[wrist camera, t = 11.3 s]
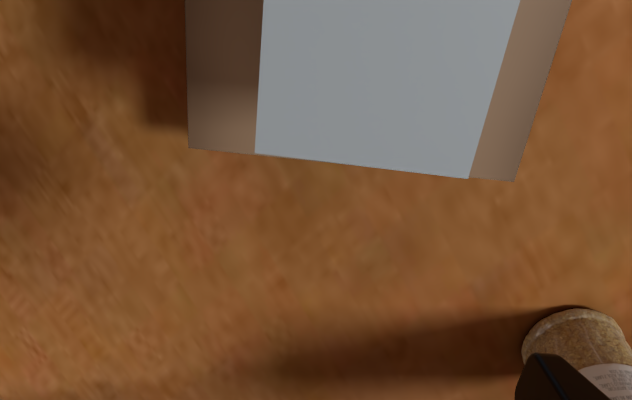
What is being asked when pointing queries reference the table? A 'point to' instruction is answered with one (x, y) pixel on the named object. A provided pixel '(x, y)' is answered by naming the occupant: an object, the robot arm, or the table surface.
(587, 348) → the sprinkles bottle
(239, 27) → the brown flat block
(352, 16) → the grey block
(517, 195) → the table surface
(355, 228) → the table surface
